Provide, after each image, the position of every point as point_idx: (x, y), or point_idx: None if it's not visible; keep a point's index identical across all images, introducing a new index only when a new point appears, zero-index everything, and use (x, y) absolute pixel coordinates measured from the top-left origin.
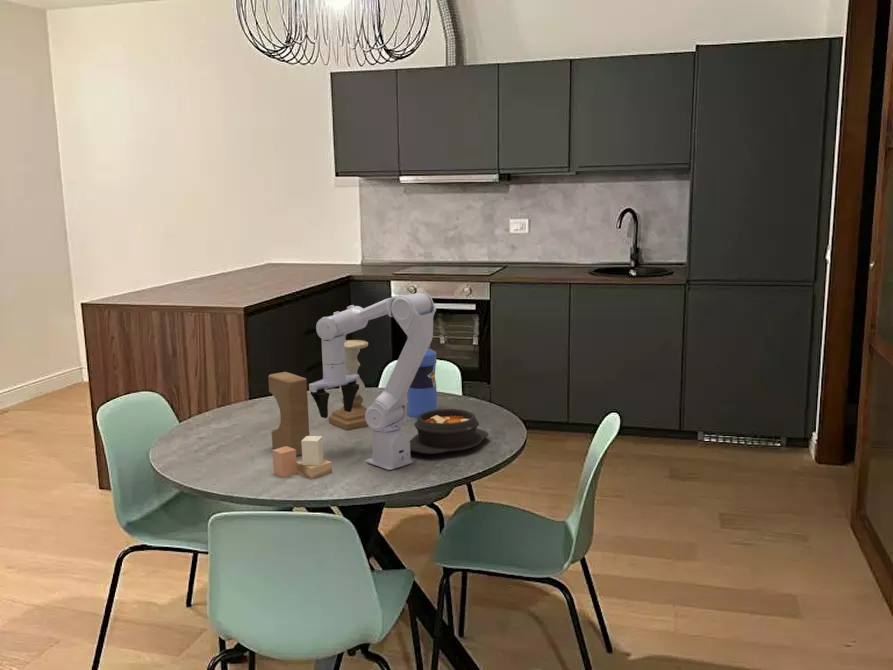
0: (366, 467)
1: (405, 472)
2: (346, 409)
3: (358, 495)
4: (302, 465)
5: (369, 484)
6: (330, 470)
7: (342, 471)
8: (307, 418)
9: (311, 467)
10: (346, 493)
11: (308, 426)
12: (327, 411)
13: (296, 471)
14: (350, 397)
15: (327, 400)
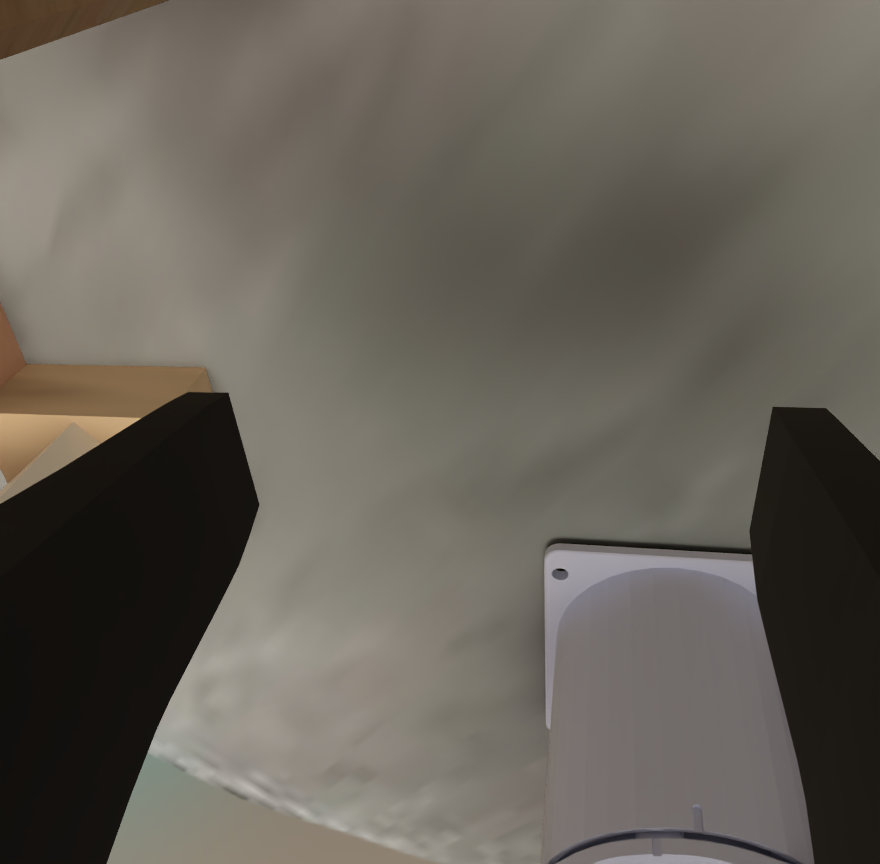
0: (488, 600)
1: None
2: (767, 487)
3: (226, 775)
4: (8, 476)
5: (338, 744)
6: None
7: (318, 546)
8: (42, 38)
9: None
10: (189, 735)
11: (144, 2)
12: (210, 607)
13: (11, 374)
14: (819, 840)
15: (90, 850)
